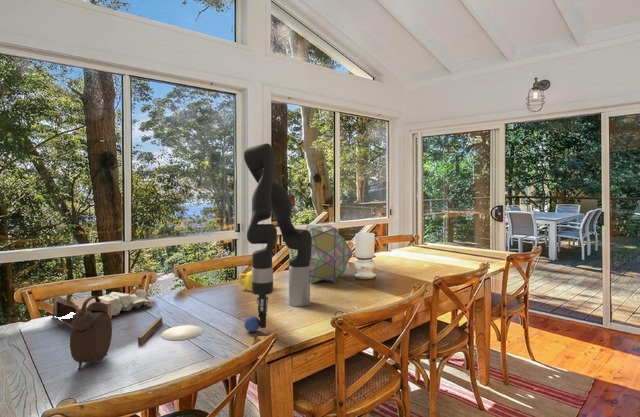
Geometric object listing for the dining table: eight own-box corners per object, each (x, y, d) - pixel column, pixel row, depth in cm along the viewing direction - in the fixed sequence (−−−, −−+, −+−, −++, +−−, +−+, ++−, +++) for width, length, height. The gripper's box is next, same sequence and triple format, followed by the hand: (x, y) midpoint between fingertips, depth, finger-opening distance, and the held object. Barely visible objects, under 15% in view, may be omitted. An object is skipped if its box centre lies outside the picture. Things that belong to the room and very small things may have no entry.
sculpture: (282, 281, 216) (282, 226, 214) (314, 271, 240) (314, 222, 238) (328, 290, 199) (328, 230, 197) (358, 278, 223) (358, 225, 221)
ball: (263, 317, 147) (249, 310, 146) (262, 324, 141) (248, 316, 141) (256, 330, 147) (242, 323, 147) (254, 337, 142) (240, 330, 141)
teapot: (274, 287, 204) (273, 268, 204) (256, 293, 193) (256, 273, 192) (253, 284, 212) (253, 265, 211) (235, 289, 200) (235, 270, 200)
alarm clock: (91, 353, 126) (88, 291, 125) (114, 352, 126) (112, 290, 125) (65, 375, 111) (62, 305, 110) (92, 374, 112) (89, 304, 111)
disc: (206, 325, 150) (206, 324, 150) (197, 340, 136) (197, 339, 136) (168, 326, 150) (168, 325, 150) (155, 341, 136) (155, 340, 136)
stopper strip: (162, 323, 152) (162, 317, 152) (141, 344, 132) (141, 337, 132) (159, 323, 152) (158, 317, 152) (138, 344, 132) (137, 337, 132)
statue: (162, 312, 167) (161, 289, 167) (67, 335, 142) (66, 308, 141) (137, 300, 184) (137, 279, 183) (49, 318, 158) (48, 294, 158)
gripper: (272, 283, 136) (273, 333, 137) (273, 275, 149) (273, 320, 150) (250, 284, 136) (250, 334, 137) (253, 275, 149) (253, 321, 150)
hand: (263, 327), depth 143 cm, fingers closed
